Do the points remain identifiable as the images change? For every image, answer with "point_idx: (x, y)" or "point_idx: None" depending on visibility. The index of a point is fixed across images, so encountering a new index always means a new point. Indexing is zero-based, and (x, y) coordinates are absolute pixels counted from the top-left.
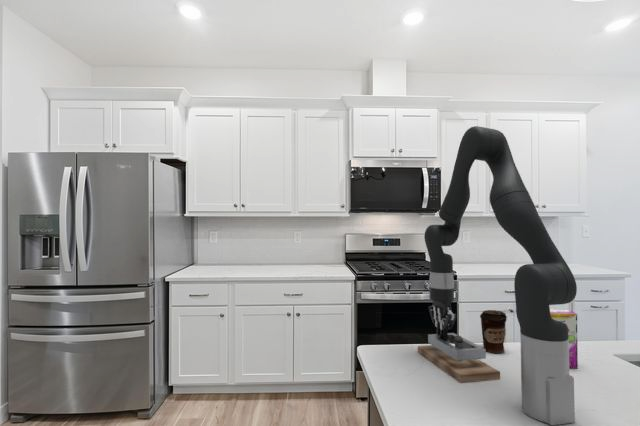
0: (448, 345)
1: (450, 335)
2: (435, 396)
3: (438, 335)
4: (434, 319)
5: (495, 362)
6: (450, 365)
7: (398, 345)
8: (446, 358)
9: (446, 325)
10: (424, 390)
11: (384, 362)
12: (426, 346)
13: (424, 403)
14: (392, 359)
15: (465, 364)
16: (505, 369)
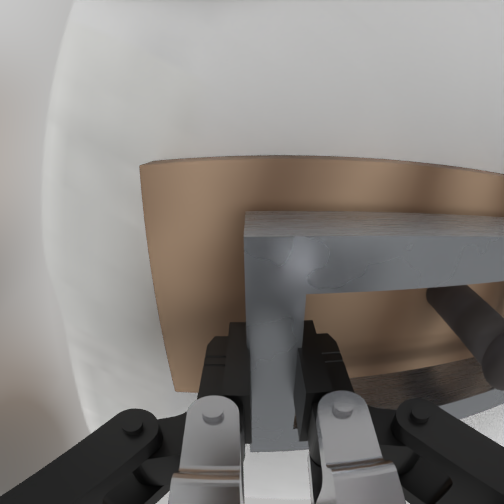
0: (479, 408)
1: (302, 302)
2: (498, 411)
3: (294, 410)
4: (154, 495)
5: (421, 29)
6: (461, 354)
7: (87, 391)
8: (400, 340)
9: (436, 477)
10: (470, 426)
11: (274, 477)
12: (183, 355)
13: (496, 430)
14: (253, 460)
15: (488, 287)
16: (495, 68)
